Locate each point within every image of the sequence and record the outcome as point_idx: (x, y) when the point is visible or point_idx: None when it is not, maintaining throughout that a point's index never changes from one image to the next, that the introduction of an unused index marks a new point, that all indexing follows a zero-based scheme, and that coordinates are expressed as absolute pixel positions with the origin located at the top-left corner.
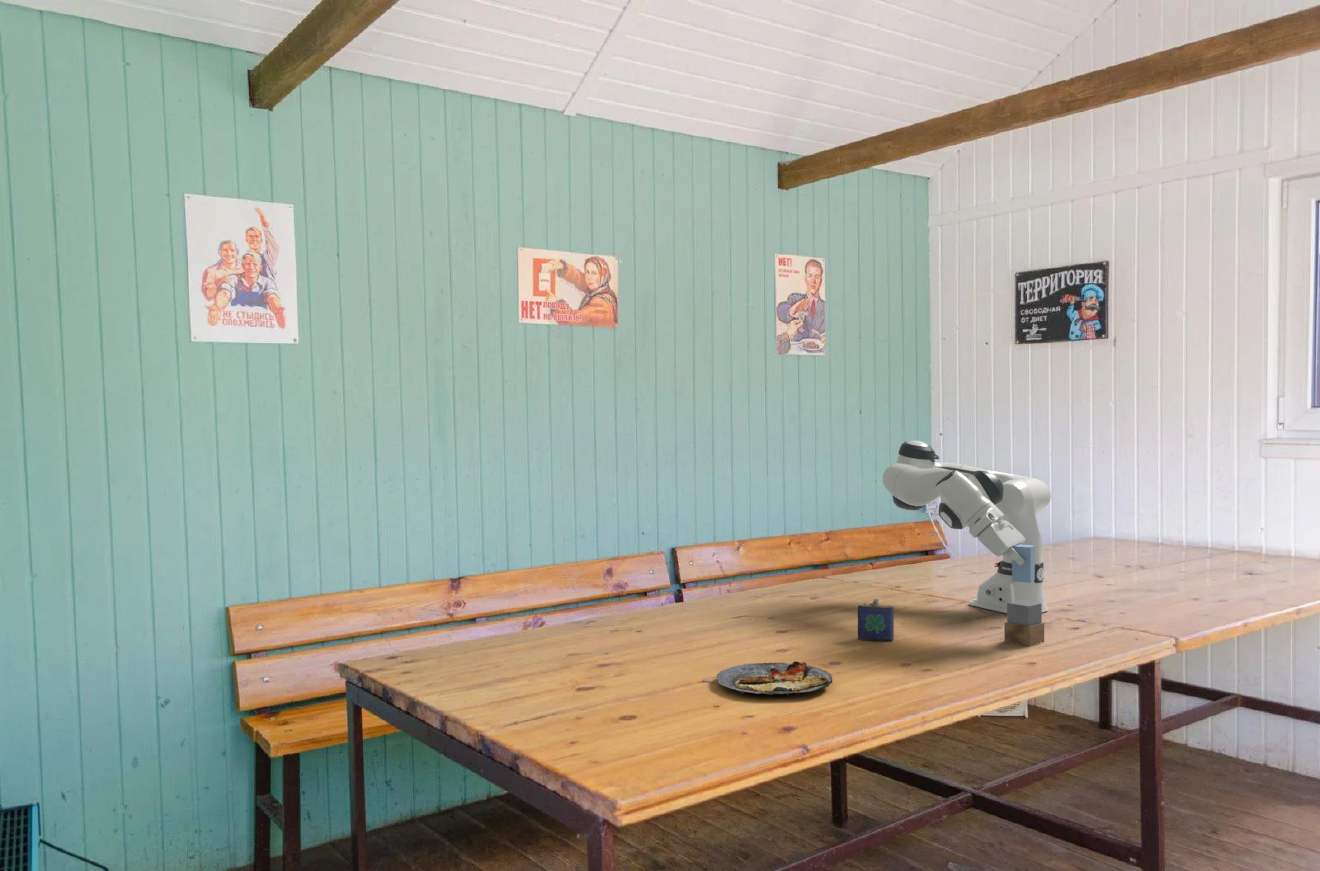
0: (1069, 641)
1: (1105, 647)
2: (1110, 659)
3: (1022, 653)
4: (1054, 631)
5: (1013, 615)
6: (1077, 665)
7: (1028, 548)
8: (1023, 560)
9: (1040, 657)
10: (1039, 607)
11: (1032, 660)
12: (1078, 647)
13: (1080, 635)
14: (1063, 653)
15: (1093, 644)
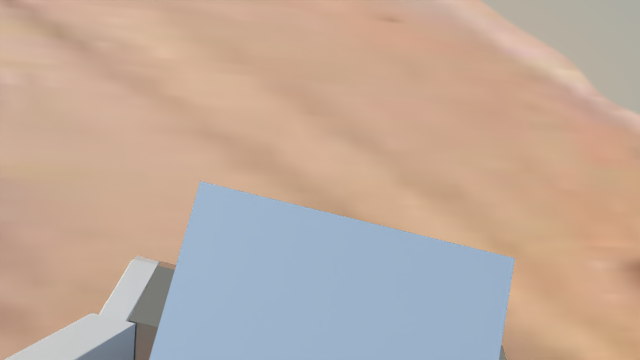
0: (227, 121)
1: (293, 2)
2: (480, 7)
3: (508, 310)
4: (36, 171)
5: None
6: (612, 120)
7: (496, 293)
8: (503, 353)
9: (546, 242)
10: None
11: (605, 272)
12: (326, 96)
13: (94, 71)
14: (448, 156)
15: (254, 38)
